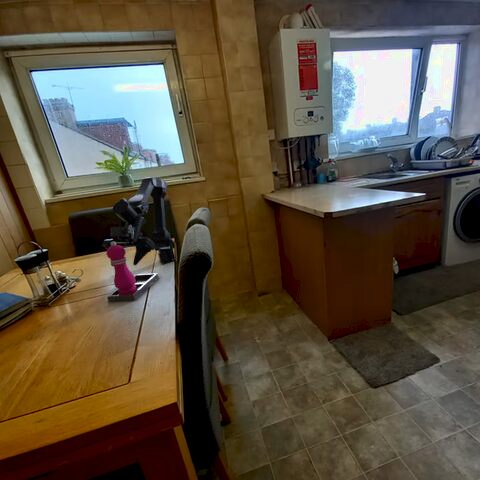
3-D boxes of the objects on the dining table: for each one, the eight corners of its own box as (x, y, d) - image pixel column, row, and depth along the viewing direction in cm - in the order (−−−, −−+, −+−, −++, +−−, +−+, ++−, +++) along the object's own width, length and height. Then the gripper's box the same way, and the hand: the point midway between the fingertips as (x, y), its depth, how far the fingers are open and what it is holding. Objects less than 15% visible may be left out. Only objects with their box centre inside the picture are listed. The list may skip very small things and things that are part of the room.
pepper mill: (142, 287, 107) (128, 237, 100) (132, 296, 100) (115, 243, 93) (125, 288, 108) (109, 239, 101) (113, 297, 101) (96, 245, 94)
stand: (158, 277, 117) (157, 273, 116) (134, 300, 99) (133, 294, 98) (136, 279, 118) (134, 274, 117) (108, 301, 100) (106, 296, 99)
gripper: (97, 218, 102) (84, 257, 96) (142, 215, 98) (132, 255, 92) (117, 233, 112) (107, 269, 106) (159, 230, 108) (150, 268, 102)
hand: (123, 265), depth 101 cm, fingers open, 9 cm apart
